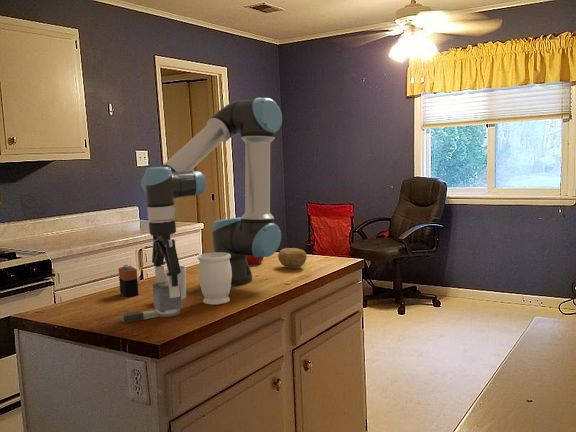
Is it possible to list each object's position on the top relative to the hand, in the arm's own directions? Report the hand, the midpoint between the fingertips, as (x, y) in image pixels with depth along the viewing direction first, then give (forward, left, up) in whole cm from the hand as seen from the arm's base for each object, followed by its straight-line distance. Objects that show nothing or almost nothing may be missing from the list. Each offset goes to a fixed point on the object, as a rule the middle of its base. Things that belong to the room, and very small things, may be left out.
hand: (167, 292), depth 161 cm
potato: (-61, -33, -7) cm, 69 cm away
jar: (-17, -4, -7) cm, 18 cm away
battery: (+4, -31, -7) cm, 32 cm away
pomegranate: (-52, -51, -7) cm, 73 cm away
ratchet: (+5, 0, -6) cm, 8 cm away
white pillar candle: (-8, -16, -7) cm, 19 cm away
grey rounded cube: (0, 0, -4) cm, 5 cm away
